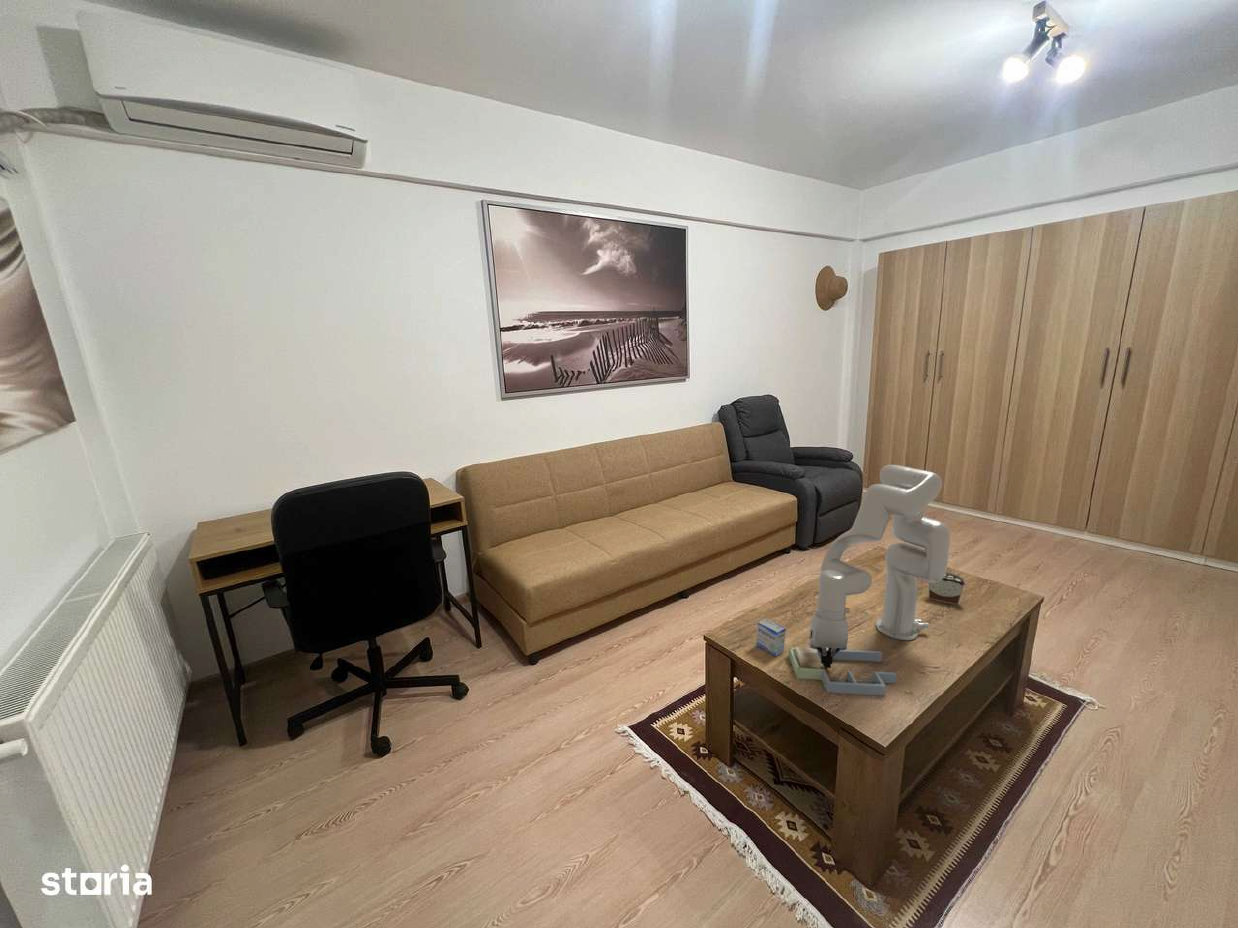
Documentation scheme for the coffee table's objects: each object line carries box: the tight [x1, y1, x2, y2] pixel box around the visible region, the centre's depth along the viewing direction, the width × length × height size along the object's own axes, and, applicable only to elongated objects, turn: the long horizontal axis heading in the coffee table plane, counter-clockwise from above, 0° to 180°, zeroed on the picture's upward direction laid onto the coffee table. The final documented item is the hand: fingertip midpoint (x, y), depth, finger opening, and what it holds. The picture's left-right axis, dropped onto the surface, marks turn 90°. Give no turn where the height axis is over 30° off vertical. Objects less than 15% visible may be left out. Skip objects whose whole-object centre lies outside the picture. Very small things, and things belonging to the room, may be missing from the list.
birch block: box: [795, 646, 822, 669], centre depth 151 cm, size 6×6×5 cm
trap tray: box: [788, 647, 898, 696], centre depth 147 cm, size 28×17×3 cm, turn 84°
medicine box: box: [755, 618, 787, 657], centre depth 160 cm, size 8×4×9 cm, turn 37°
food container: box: [928, 571, 967, 606], centre depth 188 cm, size 12×6×10 cm, turn 58°
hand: (826, 665), depth 150 cm, fingers closed
